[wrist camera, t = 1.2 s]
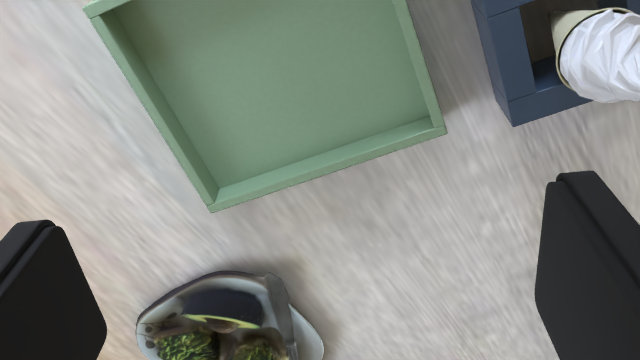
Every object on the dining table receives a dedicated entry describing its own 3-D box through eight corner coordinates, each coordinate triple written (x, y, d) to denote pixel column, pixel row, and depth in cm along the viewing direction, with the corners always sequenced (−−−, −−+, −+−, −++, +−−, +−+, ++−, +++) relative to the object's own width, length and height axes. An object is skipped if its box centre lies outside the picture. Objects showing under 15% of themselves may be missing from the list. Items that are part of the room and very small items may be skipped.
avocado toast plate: (370, 361, 57) (373, 400, 53) (237, 417, 62) (231, 456, 58) (258, 240, 48) (252, 275, 44) (116, 317, 54) (99, 354, 50)
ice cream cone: (581, -38, 35) (721, 28, 23) (596, 31, 38) (731, 126, 25) (506, -4, 37) (599, 77, 24) (525, 61, 39) (619, 166, 26)
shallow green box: (97, -3, 37) (81, 8, 35) (364, -125, 33) (367, -123, 31) (216, 194, 46) (210, 214, 43) (441, 117, 42) (448, 134, 39)
